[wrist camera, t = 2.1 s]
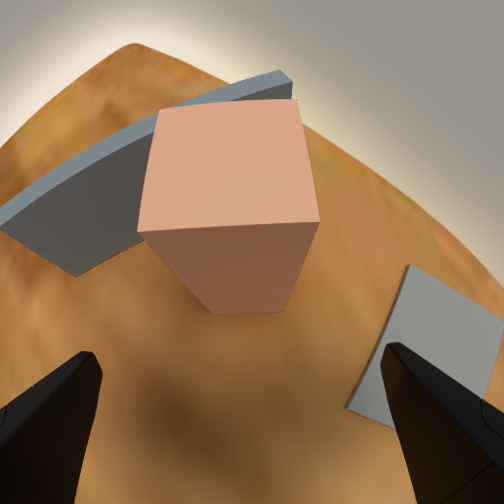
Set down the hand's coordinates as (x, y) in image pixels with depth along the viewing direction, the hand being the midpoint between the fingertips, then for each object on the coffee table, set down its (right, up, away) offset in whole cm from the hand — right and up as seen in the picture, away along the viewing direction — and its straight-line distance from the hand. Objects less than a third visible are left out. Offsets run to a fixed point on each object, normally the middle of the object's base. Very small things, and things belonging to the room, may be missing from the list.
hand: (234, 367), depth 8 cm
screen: (-6, +6, +16) cm, 18 cm away
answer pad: (+15, -5, +11) cm, 19 cm away
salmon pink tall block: (0, +1, +14) cm, 14 cm away
